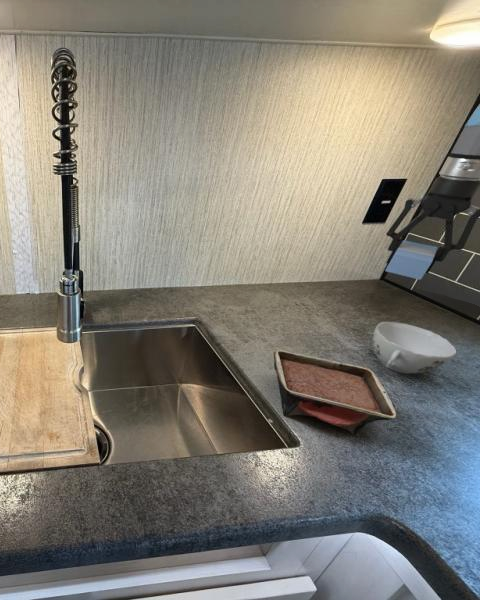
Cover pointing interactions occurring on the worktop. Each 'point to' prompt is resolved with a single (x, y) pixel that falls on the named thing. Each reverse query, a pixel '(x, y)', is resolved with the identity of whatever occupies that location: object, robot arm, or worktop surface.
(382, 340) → the teacup
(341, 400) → the baking dish
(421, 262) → the tea packet
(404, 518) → the worktop surface
